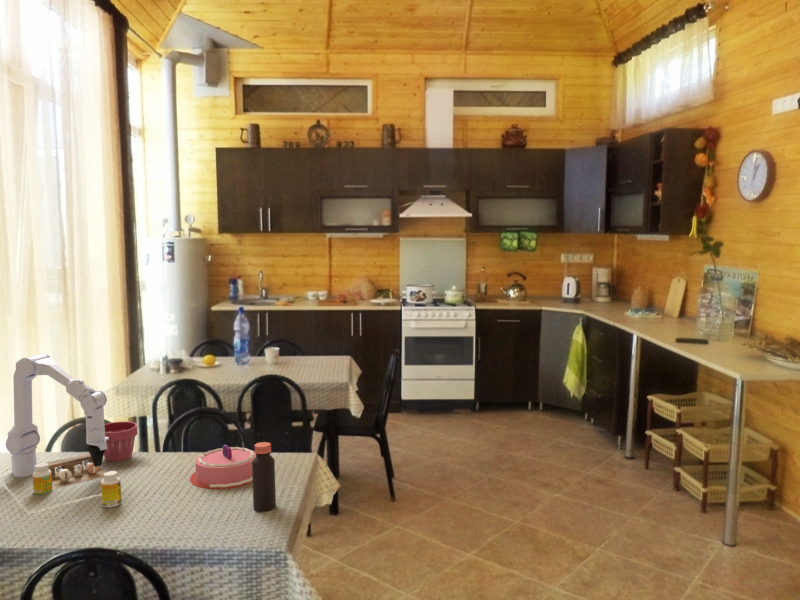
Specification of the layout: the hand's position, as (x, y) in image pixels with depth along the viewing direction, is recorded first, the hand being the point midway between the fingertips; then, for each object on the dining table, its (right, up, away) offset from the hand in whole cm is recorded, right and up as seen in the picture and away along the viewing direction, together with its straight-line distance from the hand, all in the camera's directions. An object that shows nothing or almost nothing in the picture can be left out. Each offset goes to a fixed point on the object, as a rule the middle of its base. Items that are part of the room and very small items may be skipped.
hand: (97, 465), depth 219 cm
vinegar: (+63, -7, -24) cm, 67 cm away
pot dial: (-8, -4, +2) cm, 9 cm away
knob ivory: (-12, -4, 0) cm, 13 cm away
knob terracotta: (-6, -4, +6) cm, 9 cm away
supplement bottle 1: (-13, -7, -11) cm, 18 cm away
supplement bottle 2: (+14, -7, -20) cm, 26 cm away
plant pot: (-3, -4, +22) cm, 22 cm away
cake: (+44, -5, +4) cm, 44 cm away
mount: (-9, -5, +3) cm, 11 cm away
